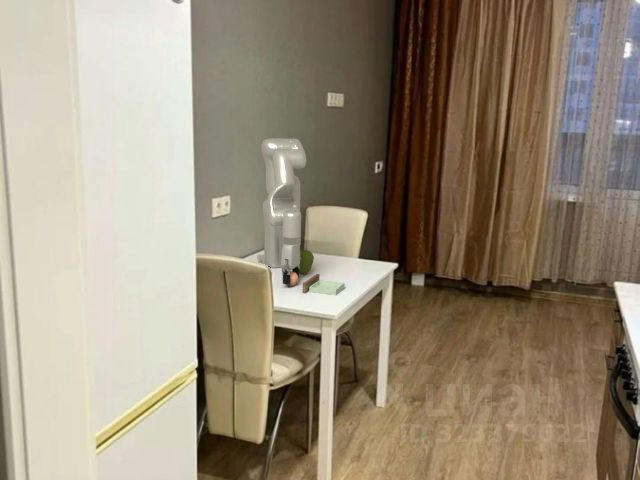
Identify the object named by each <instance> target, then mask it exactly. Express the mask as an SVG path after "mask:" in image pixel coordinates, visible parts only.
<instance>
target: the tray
mask: <svg viewBox="0 0 640 480" xmlns="http://www.w3.org/2000/svg"><path fill="white" fill-rule="evenodd" d="M345 287H346V286H345V283H344V282H338V281H329V280H321V279H319V281H317V282H316V283H314V284H313V285H312V286H310V287H309V291H308V292H309V293H314V294H322V295H329V296H331V295H332V296H337V295H338V294H339V293H341V291H343V290H344V289H345Z"/></svg>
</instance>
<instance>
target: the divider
mask: <svg viewBox="0 0 640 480" xmlns="http://www.w3.org/2000/svg"><path fill="white" fill-rule="evenodd" d="M320 275H321V274H319V273H316V274H315V275H313V276H312V277H310V278H308V279H307V280H306V281H304V282H302V294H306V293H308V292H309V287H310V286H312V285H313V284H314V283H316V282H317V281H319V280H320Z"/></svg>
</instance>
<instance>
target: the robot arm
mask: <svg viewBox="0 0 640 480" xmlns="http://www.w3.org/2000/svg"><path fill="white" fill-rule="evenodd" d="M260 146H261V154H262V157H263V160H264V164H265V190H266V193H267V198H266V199H265V200H264V201H263V202H262V214H263V223H264V224H263V225H264V228H263V229H264V232H263V233H264V239H263V240H264V247H263V248H264V251H263V252H264V253H263V255H262V254H257V257H256V258H257V260H261V262H260V264H261V263H262V264H265V265H267V266H270V267H271V268H272V269H273V268H274V269H276V268H277V269H278V268H281V272H282V284H283V285H287V284H290V275H289V274H290V271H292V272H295V273H296V274H297V275H298V280H299V279H300V277H301V276H300V275H301V274H300V259H301V257H300V250H301V247H300V246H301V244H302V243H301V241H302V236H301V235H302V234H301V233H302V213H301V181H300V179H299V177H298V176H297V175H295V174H294V172H295V171H294V170H295V169H296V170H297V169H298V170H300V169H304V168H306V165H307V154H306V151H305V149H304V147H303V143H301V141H300V140H299V139H298V138H282V137H278V138H277V137H275V138H272V137H271V138H266V139H264V140H263V141H261V145H260ZM280 196H281V198H280ZM283 196H286V197H287V196H289V197H287V198H286V197H285V198H284V197H283ZM275 197H277V198H275ZM278 197H279V198H278ZM282 197H283V198H282ZM270 267H269V268H270Z"/></svg>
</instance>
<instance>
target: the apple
mask: <svg viewBox="0 0 640 480" xmlns="http://www.w3.org/2000/svg"><path fill="white" fill-rule="evenodd" d="M300 257H301V259H300V275H307V274H308V273H309V272H311V269H312V266H313V263H314V260H315V259H314V258H315V256H314V255H313V252H312V251H311V250H308V249H307V250H306V249H300Z"/></svg>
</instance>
